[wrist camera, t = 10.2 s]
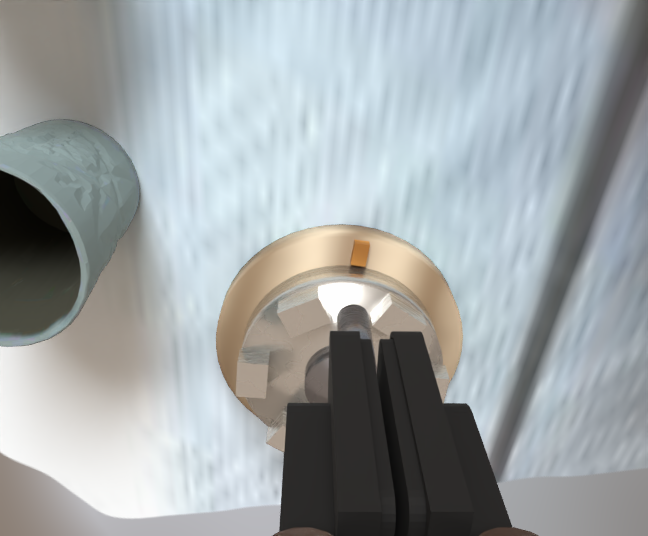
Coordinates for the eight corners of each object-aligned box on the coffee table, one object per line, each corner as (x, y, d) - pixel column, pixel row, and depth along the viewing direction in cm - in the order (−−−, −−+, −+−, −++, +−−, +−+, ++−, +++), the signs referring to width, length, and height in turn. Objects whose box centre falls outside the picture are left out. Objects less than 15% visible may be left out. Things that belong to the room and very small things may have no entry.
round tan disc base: (471, 225, 41) (480, 241, 39) (442, 424, 49) (449, 446, 47) (211, 223, 41) (205, 238, 38) (227, 423, 49) (222, 446, 47)
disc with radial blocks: (248, 256, 39) (228, 344, 30) (454, 275, 40) (494, 365, 31) (239, 417, 46) (220, 530, 37) (417, 430, 47) (441, 543, 38)
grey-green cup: (98, 274, 43) (26, 379, 32) (-35, 186, 39) (-164, 270, 29) (180, 172, 39) (129, 251, 28) (42, 67, 36) (-73, 111, 25)
